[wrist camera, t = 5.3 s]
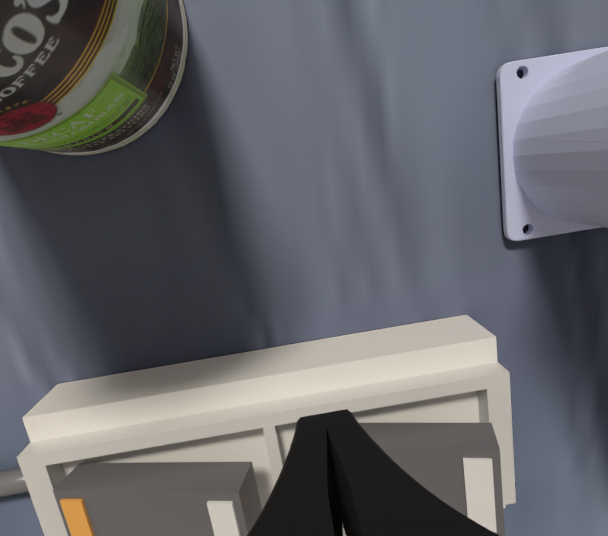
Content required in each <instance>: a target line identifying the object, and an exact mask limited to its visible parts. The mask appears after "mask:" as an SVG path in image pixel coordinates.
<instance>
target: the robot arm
mask: <svg viewBox="0 0 608 536" xmlns="http://www.w3.org/2000/svg"><path fill="white" fill-rule="evenodd" d="M518 68H521V69H522V70H523V77H522V78H519V77H518V76H517V69H518ZM496 85H497V105H498V126H499V147H500V167H501V188H502V209H503V229H504V235H505V237H506V238H507V239H509V240H512V241H522V240H528V239H534V238H540V237H546V236H552V235H558V234H564V233H570V232H576V231H582V230H588V229H594V228H600V227H605V228H608V47H602V48H596V49H590V50H583V51H577V52H570V53H564V54H558V55H551V56H545V57H538V58H532V59H526V60H519V61H513V62H509V63H506V64H504V65H502V66H501V67H500V68H499V69H498V71H497V75H496ZM526 224H528V227H529V228H528V231H527V232H526V233H523V227H524V226H525V225H526ZM342 523H343V527H344V530H345V534H346V536H499V535H498V534H496V533H494V532H492V531H490V530H489V529H487V528H485V527H483V526H482V525H480V524H478V523H477V522H475V521H473V520H472V519H470V518H468V517H467V516H465V515H463V514H462V513H460V512H458V511H457V510H455V509H454V508H452V507H451V506H449V505H448V504H446V503H445V502H443V501H442V500H441V499H439V498H438V497H436V496H435V495H434V494H432V493H431V492H430V491H428V490H427V489H426V488H425V487H423V486H422V485H421V484H419V483H418V482H417V481H416V480H415V479H413V478H412V477H411V476H410V475H409V474H408V473H407V472H405V471H404V470H403V469H402V468H401V467H400V466H399V465H398V464H396V463H395V462H394V461H393V460H392V459H391V458H390V457H389V456H388V455H387V454H386V453H385V452H384V451H383V450H382V449H381V448H380V447H379V446H378V445H377V444H376V443H375V441H374V440H373V439H372V438H371V437H370V436H369V435H368V434H367V432H366V431H365V430H364V429H363V428H362V426H361V425H360V424H359V423H358V421H357V420H356V419H355V417H354V416H353V414H352V413H351V412H350V411H349V410H347V409H344V410H339V411H333V412H327V413H322V414H316V415H310V416H305V417H300V418H299V420H298V421H297V423H296V429H295V433H294V437H293V440H292V443H291V446H290V449H289V452H288V455H287V457H286V460H285V463H284V465H283V468H282V470H281V473H280V475H279V477H278V479H277V481H276V483H275V486H274V488H273V490H272V492H271V494H270V496H269V498H268V500H267V502H266V504H265V506H264V508H263V510H262V511H261V513H260V515H259V517H258V518H257V520H256V522H255V523H254V525H253V527H252V528H251V530H250V532H249V533H248V535H247V536H343V529H342Z"/></svg>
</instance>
